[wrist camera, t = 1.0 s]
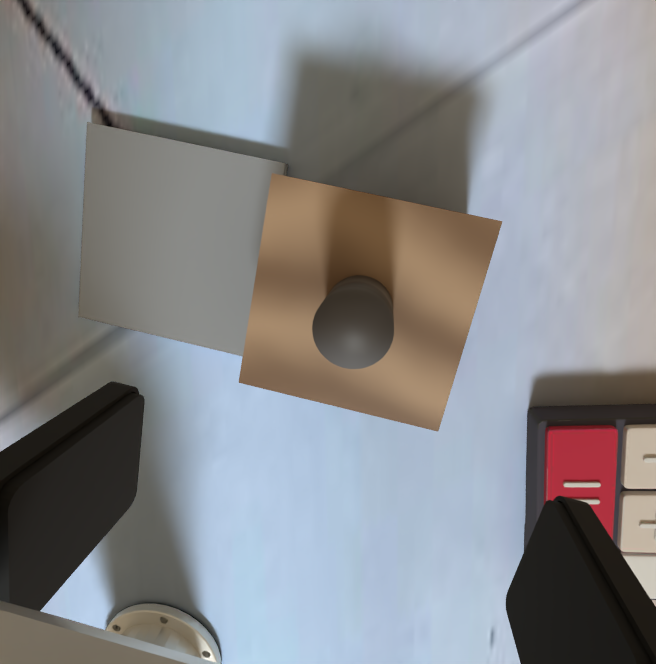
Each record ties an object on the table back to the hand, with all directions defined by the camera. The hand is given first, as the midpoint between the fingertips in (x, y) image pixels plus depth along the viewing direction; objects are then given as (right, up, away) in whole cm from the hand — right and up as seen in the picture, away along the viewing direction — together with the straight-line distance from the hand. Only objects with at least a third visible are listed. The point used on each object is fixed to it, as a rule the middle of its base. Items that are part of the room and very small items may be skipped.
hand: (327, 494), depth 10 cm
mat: (-12, +11, +25) cm, 30 cm away
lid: (+2, +6, +18) cm, 19 cm away
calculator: (+22, -9, +27) cm, 36 cm away
